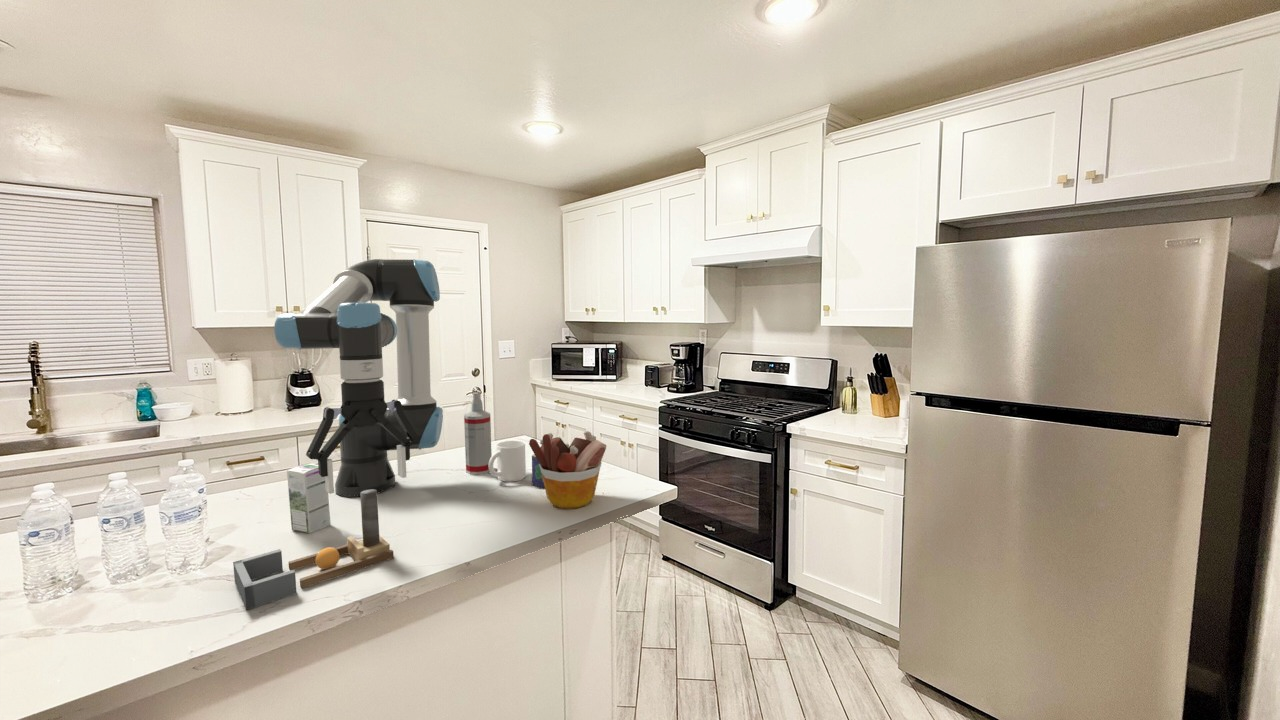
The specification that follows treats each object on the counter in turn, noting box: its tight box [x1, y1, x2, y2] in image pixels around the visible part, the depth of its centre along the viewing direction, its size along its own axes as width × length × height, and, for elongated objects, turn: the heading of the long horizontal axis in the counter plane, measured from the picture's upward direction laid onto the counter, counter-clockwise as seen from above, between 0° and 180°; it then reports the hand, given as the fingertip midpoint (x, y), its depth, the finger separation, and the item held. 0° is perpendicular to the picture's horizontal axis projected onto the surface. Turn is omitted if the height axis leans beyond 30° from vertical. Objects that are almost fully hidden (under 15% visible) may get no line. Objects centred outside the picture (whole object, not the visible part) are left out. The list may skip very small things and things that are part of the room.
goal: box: [232, 548, 297, 611], centre depth 92 cm, size 12×7×4 cm, turn 45°
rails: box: [288, 544, 395, 589], centre depth 102 cm, size 10×16×2 cm, turn 135°
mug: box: [489, 440, 527, 483], centre depth 152 cm, size 12×8×10 cm
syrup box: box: [286, 463, 331, 534], centre depth 118 cm, size 6×6×14 cm
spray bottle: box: [463, 392, 493, 476], centre depth 159 cm, size 8×8×25 cm
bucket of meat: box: [528, 430, 607, 510], centre depth 133 cm, size 20×16×20 cm
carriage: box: [346, 489, 391, 561], centre depth 104 cm, size 7×6×13 cm
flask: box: [531, 453, 545, 490], centre depth 145 cm, size 9×3×11 cm, turn 61°
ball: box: [315, 547, 340, 570], centre depth 100 cm, size 4×4×4 cm
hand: (367, 483), depth 104 cm, fingers open, 13 cm apart
